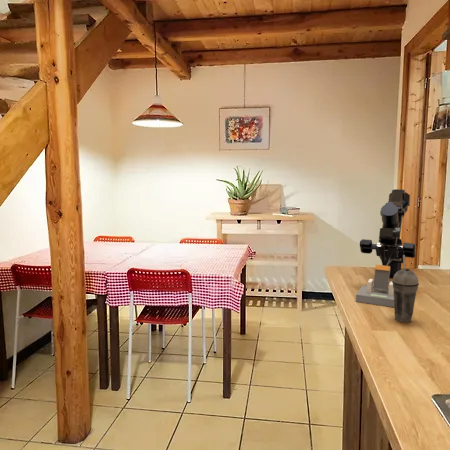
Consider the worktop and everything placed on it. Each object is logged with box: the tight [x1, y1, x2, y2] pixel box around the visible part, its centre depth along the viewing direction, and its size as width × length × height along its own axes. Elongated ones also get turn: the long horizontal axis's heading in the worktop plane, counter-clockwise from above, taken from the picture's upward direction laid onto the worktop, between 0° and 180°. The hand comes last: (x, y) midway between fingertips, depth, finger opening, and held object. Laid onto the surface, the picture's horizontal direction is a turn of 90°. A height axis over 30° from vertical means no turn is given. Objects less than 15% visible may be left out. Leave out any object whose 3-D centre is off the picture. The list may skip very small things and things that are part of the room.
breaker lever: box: [373, 264, 390, 292], centre depth 141 cm, size 2×5×9 cm, turn 62°
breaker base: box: [355, 278, 394, 308], centre depth 140 cm, size 12×14×6 cm
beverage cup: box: [392, 255, 420, 324], centre depth 121 cm, size 7×7×20 cm
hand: (384, 267), depth 144 cm, fingers closed
